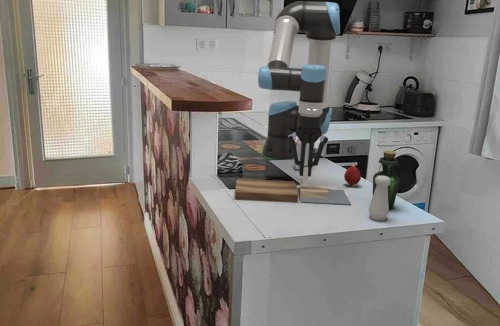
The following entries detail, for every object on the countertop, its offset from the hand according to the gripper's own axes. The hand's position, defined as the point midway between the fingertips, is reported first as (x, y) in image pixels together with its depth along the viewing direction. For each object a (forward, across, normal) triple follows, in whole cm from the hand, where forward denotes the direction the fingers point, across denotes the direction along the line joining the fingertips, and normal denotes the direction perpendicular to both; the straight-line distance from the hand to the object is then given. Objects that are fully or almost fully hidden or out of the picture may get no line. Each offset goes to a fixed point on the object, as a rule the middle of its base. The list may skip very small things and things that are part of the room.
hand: (304, 185), depth 154 cm
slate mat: (+4, +6, 0) cm, 7 cm away
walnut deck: (+4, -12, 0) cm, 13 cm away
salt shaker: (+4, +20, -17) cm, 27 cm away
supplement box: (+4, +3, +32) cm, 32 cm away
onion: (+4, +19, +13) cm, 23 cm away
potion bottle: (+4, +24, -7) cm, 26 cm away
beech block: (+3, +3, 0) cm, 4 cm away
